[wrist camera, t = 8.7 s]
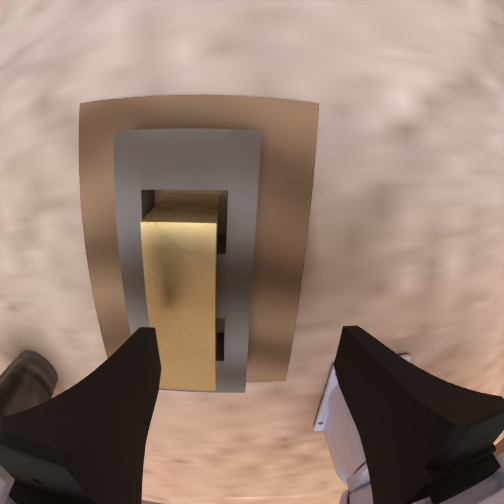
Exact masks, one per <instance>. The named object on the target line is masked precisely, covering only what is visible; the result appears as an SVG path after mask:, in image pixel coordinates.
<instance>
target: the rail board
mask: <svg viewBox="0 0 504 504" xmlns="http://www.w3.org/2000/svg"><path fill="white" fill-rule="evenodd" d="M318 112H319V103H311V102H303V101H295V100H285V99H275V98H263V97H247V96H225V95H171V96H149V97H134V98H122V99H112V100H103V101H95V102H87V103H80V112H79V177H80V195H81V209H82V220H83V230H84V239H85V247H86V254H87V261H88V268H89V274H90V280H91V286H92V292H93V297H94V302H95V307H96V312H97V316H98V321H99V325H100V330H101V334H102V338H103V342H104V346H105V350H106V354H107V358H109V357H110V356H111V355H112V354H113V353H114V352H115V351H116V350H117V349H118V348H119V347H120V346H121V345H122V344H123V343H124V342H125V341H126V340H127V339H128V338H129V337H130V336H131V335H132V334H133V333H134V332H135V331H136V330H137V329H138V328H139V327H150V325H149V317H148V309H147V300H146V290H145V280H144V269H143V256H142V241H141V221H142V220H143V219H144V217H145V216H146V215H147V214H148V213H149V212H150V211H151V210H152V209H153V208H154V207H155V206H156V205H157V204H158V203H159V202H160V200H161V199H162V198H163V197H164V196H165V195H166V194H167V193H191V194H220V197H219V227H218V241H217V260H216V318H217V342H216V391H197V390H178V389H163V388H159V390H172V391H190V392H231V393H236V392H245V387H246V382H272V381H286V377H287V371H288V365H289V360H290V354H291V348H292V341H293V335H294V329H295V322H296V316H297V309H298V302H299V295H300V288H301V281H302V274H303V266H304V258H305V250H306V242H307V233H308V225H309V216H310V206H311V197H312V187H313V176H314V165H315V153H316V141H317V127H318Z"/></svg>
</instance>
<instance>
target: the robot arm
mask: <svg viewBox="0 0 504 504" xmlns="http://www.w3.org/2000/svg"><path fill="white" fill-rule="evenodd" d="M411 359H412V357H411V356H410V355H409V354H406V355H398V354H396V353H395V352H393V351H392V350H391V349H389V348H388V347H386V346H385V345H384V344H382V343H381V342H380V341H378V340H377V339H376V338H374V337H373V336H372V335H370V334H369V333H367V332H366V331H365V330H363V329H362V328H360V327H359V326H343V330H342V334H341V338H340V342H339V346H338V350H337V354H336V358H335V362H334V365H333V366H332V368H331V372H330V376H329V379H328V382H327V386H326V389H325V392H324V396H323V399H322V402H321V405H320V408H319V412H318V415H317V418H316V421H315V424H314V427H313V428H314V430H315V431H324V434H325V437H326V440H327V444H328V447H329V450H330V453H331V457H332V460H333V463H334V467H335V470H336V473H337V475H338V477H339V478H340V479H341V480H342V481H343V482H344V483H345V484H347V485H348V490H346V491H344V492H343V493H342V495H341V498H340V502H339V504H504V452H503V453H502V454H500V455H499V456H498V457H497V458H495V456H494V455H493V453H494V452H495V451H496V447H495V446H494V444H493V442H494V441H495V440H496V439H497V438H498V436H499V435H500V434H501V433H502V431H503V430H504V399H503V397H501V396H496V395H490V394H485V393H480V392H476V391H473V390H469V389H466V388H463V387H460V386H457V385H454V384H452V383H449V382H447V381H444V380H442V379H440V378H437V377H435V376H433V375H431V374H429V373H427V372H425V371H424V370H422V369H420V368H418V367H416V366H415V365H413V364H412V363H410V362H411ZM161 369H162V367H161V361H160V355H159V349H158V343H157V336H156V329H155V328H152V327H139V328H138V329H137V330H136V331H135V332H134V333H133V334H132V335H131V336H130V337H129V338H128V339H127V340H126V341H125V342H124V343H123V344H122V345H121V346H120V347H119V348H118V349H117V350H116V351H115V352H114V353H113V354H112V355H111V356H110V357H109V358H108V359H107V360H106V361H105V362H104V363H102V364H101V365H100V366H99V367H98V368H97V369H96V370H94V371H93V372H92V373H91V374H89V375H88V376H87V377H85V378H84V379H83V380H81V381H80V382H78V383H77V384H76V385H74V386H73V387H71V388H69V389H68V390H66V391H64V392H62V393H61V394H59V395H57V396H56V397H54V398H52V399H50V400H48V401H46V402H44V403H42V404H39V405H37V406H35V407H32V408H30V409H27V410H24V411H21V412H18V413H15V414H12V415H9V416H5V417H3V419H2V421H1V422H0V465H1V466H2V467H3V468H4V469H5V470H6V471H7V472H8V473H9V474H10V475H11V476H12V477H13V478H14V479H15V480H14V483H13V486H11V485H10V484H9V483H7V482H6V481H4V480H2V479H0V504H141V499H142V477H143V463H144V454H145V445H146V439H147V434H148V430H149V426H150V422H151V418H152V415H153V411H154V407H155V403H156V399H157V395H158V391H159V385H160V377H161Z"/></svg>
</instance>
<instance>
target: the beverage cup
mask: <svg viewBox="0 0 504 504" xmlns="http://www.w3.org/2000/svg"><path fill="white" fill-rule="evenodd" d="M56 382H57V374H56V372H55V370H54V368H53V367H52V365H51V364H50V363H49V362H48V361H47V360H46V359H45V358H43V357H42V356H41V355H39V354H37V353H35V352H32V351H24V352H22V353H21V354H20V355H19V357H17V358H16V359H15V360H14V361H13V362H12V363H11V364H10V365H9V366H8V367H7V369H6V370H5V371H4V372H3V373H2V374H1V375H0V422H1V421H2V419H3V417H5V416H9V415H12V414H15V413H18V412H21V411H24V410H27V409H30V408H32V407H35V406H37V405H39V404H42V403H44V402H46V401H48V400H50V399H51V398H52V395H53V391H54V388H55V384H56ZM0 479H2V480H4V481H6V482H7V483H9V484H10V485H11V486H13V483H14V480H15V479H14V478H13V477H12V476H11V475H10V474H9V473H8V472H7V471H6V470H5V469H4V468H3V467H2V466H1V465H0Z"/></svg>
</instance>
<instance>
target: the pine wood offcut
mask: <svg viewBox="0 0 504 504" xmlns="http://www.w3.org/2000/svg"><path fill="white" fill-rule="evenodd" d="M219 197H220V194H191V193H167V194H166V195H165V196H164V197H163V198H162V199H161V200H160V202H159V203H158V204H157V205H156V206H155V207H154V208H153V209H152V210H151V211H150V212H149V213H148V214H147V215H146V216H145V217H144V219H143V220H142V221H141V241H142V256H143V269H144V280H145V290H146V300H147V309H148V317H149V325H150V327H152V328H155V329H156V336H157V343H158V349H159V355H160V361H161V367H162V369H161V377H160V385H159V388H163V389H178V390H197V391H216V342H217V318H216V260H217V241H218V227H219Z"/></svg>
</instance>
